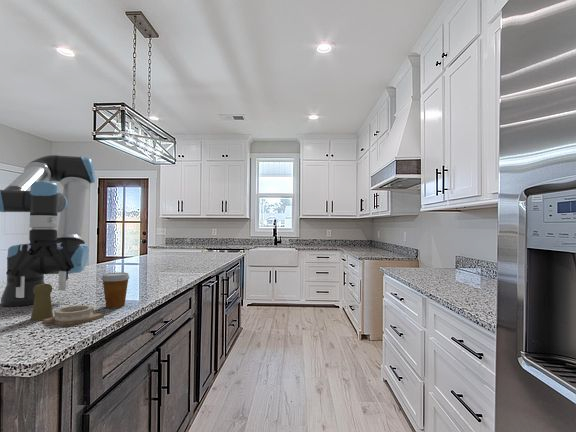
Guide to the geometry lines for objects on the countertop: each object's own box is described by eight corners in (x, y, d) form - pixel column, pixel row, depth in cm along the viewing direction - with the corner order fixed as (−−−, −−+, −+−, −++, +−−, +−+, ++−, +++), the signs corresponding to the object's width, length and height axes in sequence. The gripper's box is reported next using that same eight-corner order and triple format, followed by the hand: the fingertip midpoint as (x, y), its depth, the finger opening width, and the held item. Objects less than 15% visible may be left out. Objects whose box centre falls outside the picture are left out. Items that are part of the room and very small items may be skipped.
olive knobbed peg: (57, 315, 117) (58, 282, 117) (43, 320, 111) (44, 286, 111) (41, 315, 118) (41, 282, 118) (26, 320, 112) (26, 285, 112)
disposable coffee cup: (100, 310, 124) (101, 276, 125) (101, 304, 133) (101, 273, 133) (130, 307, 129) (130, 274, 129) (128, 302, 137) (128, 271, 138)
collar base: (42, 322, 109) (42, 311, 109) (77, 313, 120) (77, 303, 120) (69, 326, 104) (69, 315, 104) (103, 316, 116) (104, 306, 116)
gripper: (9, 228, 102) (7, 301, 101) (85, 228, 125) (84, 288, 125) (-7, 228, 105) (-9, 300, 104) (71, 228, 128) (69, 287, 127)
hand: (42, 293), depth 114 cm, fingers open, 13 cm apart
